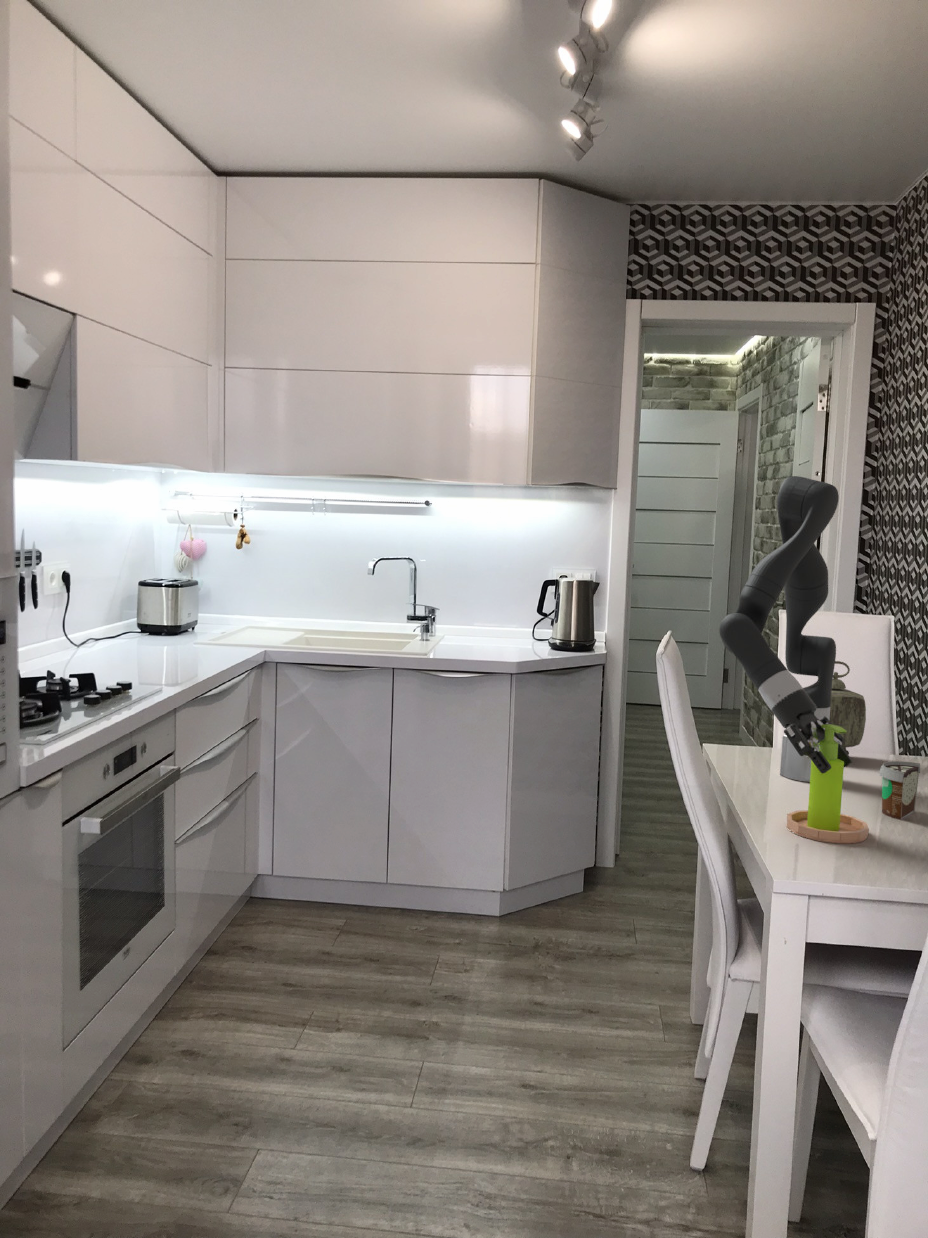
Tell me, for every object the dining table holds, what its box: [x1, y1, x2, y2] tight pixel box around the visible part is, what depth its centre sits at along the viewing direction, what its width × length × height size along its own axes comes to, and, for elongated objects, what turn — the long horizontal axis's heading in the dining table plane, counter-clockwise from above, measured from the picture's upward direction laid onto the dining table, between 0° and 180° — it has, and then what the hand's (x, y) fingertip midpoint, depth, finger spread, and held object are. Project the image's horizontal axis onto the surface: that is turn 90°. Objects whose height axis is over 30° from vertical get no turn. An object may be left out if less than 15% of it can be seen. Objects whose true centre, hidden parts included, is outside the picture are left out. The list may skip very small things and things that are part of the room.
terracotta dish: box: [786, 809, 870, 844], centre depth 197 cm, size 15×15×2 cm
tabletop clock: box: [829, 660, 867, 756], centre depth 261 cm, size 14×9×25 cm, turn 94°
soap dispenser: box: [807, 724, 847, 831], centre depth 196 cm, size 6×7×20 cm
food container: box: [878, 760, 921, 821], centre depth 213 cm, size 12×6×10 cm, turn 141°
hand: (837, 767), depth 195 cm, fingers open, 8 cm apart
